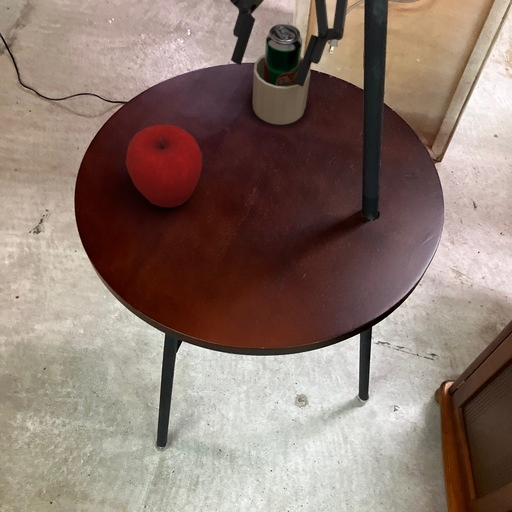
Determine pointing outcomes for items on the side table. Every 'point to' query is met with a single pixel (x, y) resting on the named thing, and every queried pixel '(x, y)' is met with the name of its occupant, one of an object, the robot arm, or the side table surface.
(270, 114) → the cup
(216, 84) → the side table surface
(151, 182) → the apple
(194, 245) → the side table surface
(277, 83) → the soda can
